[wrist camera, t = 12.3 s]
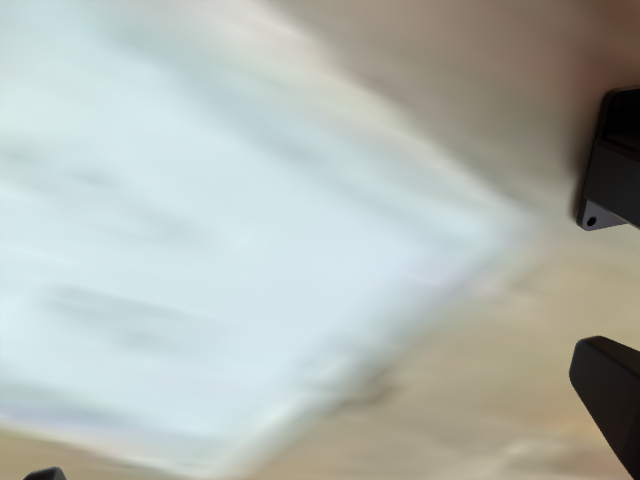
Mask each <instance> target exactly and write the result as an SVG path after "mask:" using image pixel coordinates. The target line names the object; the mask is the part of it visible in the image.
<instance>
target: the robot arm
mask: <svg viewBox="0 0 640 480" xmlns="http://www.w3.org/2000/svg"><path fill="white" fill-rule="evenodd" d="M616 99H617V102H616V104H615V105H614V103H615V101H616ZM589 218H590V219H589ZM588 219H589V220H588ZM576 223H577V225H578V226H579V227H581V228H582V229H584V230H586V231H591V230H596V229H602V228H607V227H612V226H617V225H622V224H627V223H628V224H630V225H632V226H634V227H635V228H637V229H639V230H640V85H639V86H632V87H624V88H617V89H613V90H610V91H609V92H608V93H607V94H606V95H605V96H604V98H603V101H602V104H601V109H600V113H599V118H598V123H597V127H596V132H595V136H594V141H593V146H592V150H591V155H590V160H589V164H588V169H587V173H586V178H585V183H584V187H583V192H582V197H581V201H580V206H579V210H578V215H577V221H576ZM569 377H570V381H571V384H572V386H573V387H574V389H575V391H576V392H577V394H578V395H579V397H580V399H581V400H582V402H583V403H584V405H585V407H586V408H587V410H588V411H589V413H590V415H591V416H592V418H593V420H594V421H595V423H596V424H597V426H598V428H599V429H600V431H601V432H602V434H603V436H604V437H605V439H606V440H607V442H608V444H609V445H610V447H611V448H612V450H613V451H614V453H615V454H616V456H617V457H618V459H619V460H620V462H621V463H622V464H623V466H624V467H625V469H626V470H627V471H628V473H629V474H630V475H631V477H632V478H633V479H634V480H640V351H637V350H635V349H633V348H630V347H628V346H625V345H623V344H620V343H618V342H616V341H613V340H611V339H608V338H606V337H603V336H593V337H588V338H584V339H581V340H579V341H578V342H577V343H576V346H575V349H574V353H573V357H572V361H571V365H570V369H569ZM23 480H67V479H66V477H65V475H64V473H63V471H62V470H61V469H60V468H59V467H50V468H46V469H41V470H37V471H34V472H31V473H29V474H28V475H27V476H26V477H25V478H24V479H23Z"/></svg>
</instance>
